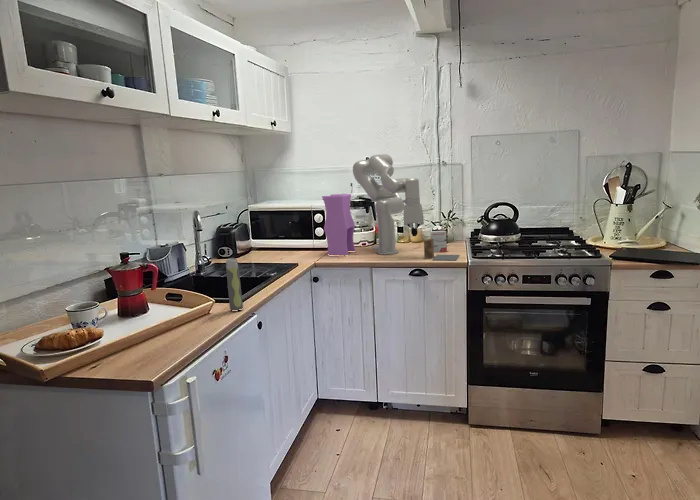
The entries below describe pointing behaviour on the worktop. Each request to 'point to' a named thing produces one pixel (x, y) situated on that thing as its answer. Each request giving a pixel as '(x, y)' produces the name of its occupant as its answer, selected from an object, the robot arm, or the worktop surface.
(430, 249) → the walnut block
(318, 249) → the worktop surface
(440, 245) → the ink box
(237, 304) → the grey green tall block
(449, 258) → the mat
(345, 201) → the container
